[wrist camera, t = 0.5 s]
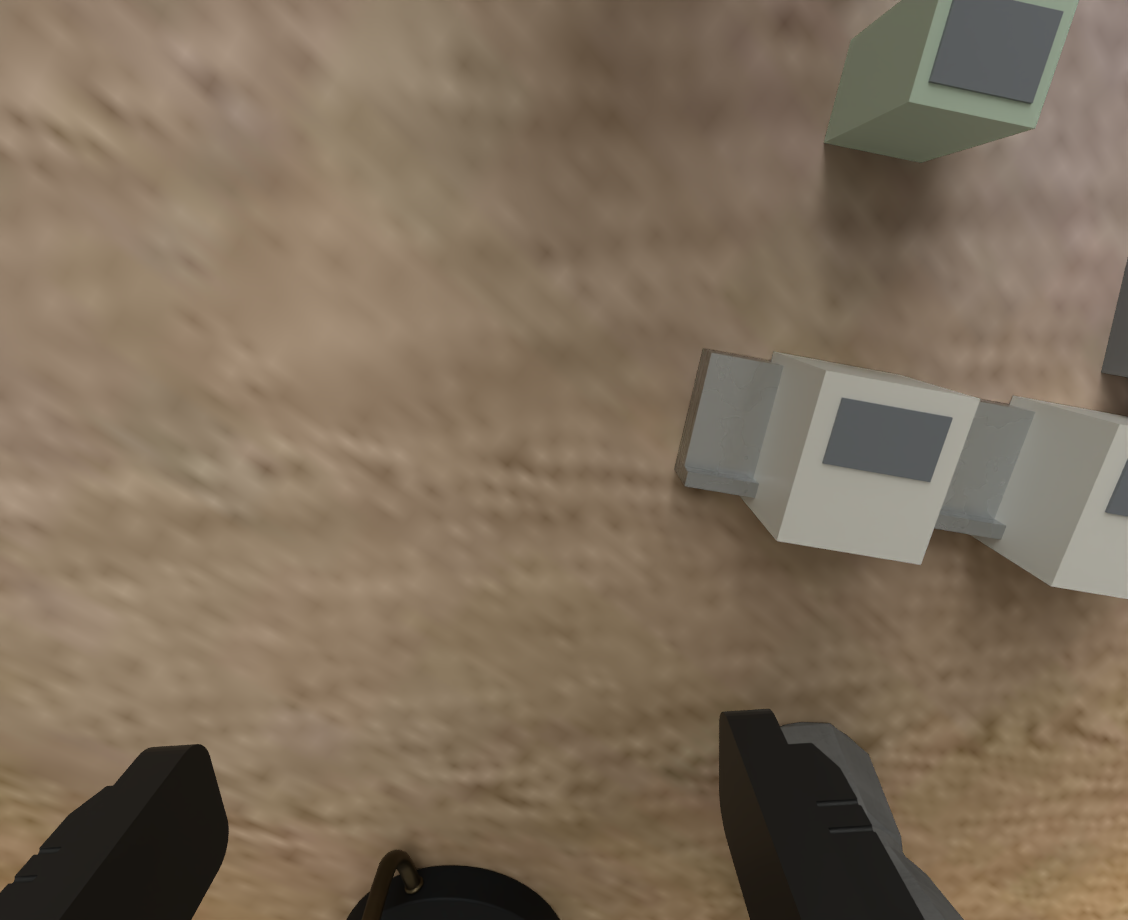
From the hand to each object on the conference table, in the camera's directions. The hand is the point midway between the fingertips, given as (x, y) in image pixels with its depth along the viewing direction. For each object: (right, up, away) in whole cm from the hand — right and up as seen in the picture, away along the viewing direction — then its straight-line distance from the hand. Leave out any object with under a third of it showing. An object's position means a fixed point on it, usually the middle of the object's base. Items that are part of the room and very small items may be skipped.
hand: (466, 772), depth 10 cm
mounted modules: (+22, +5, +26) cm, 35 cm away
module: (+17, +22, +21) cm, 35 cm away
